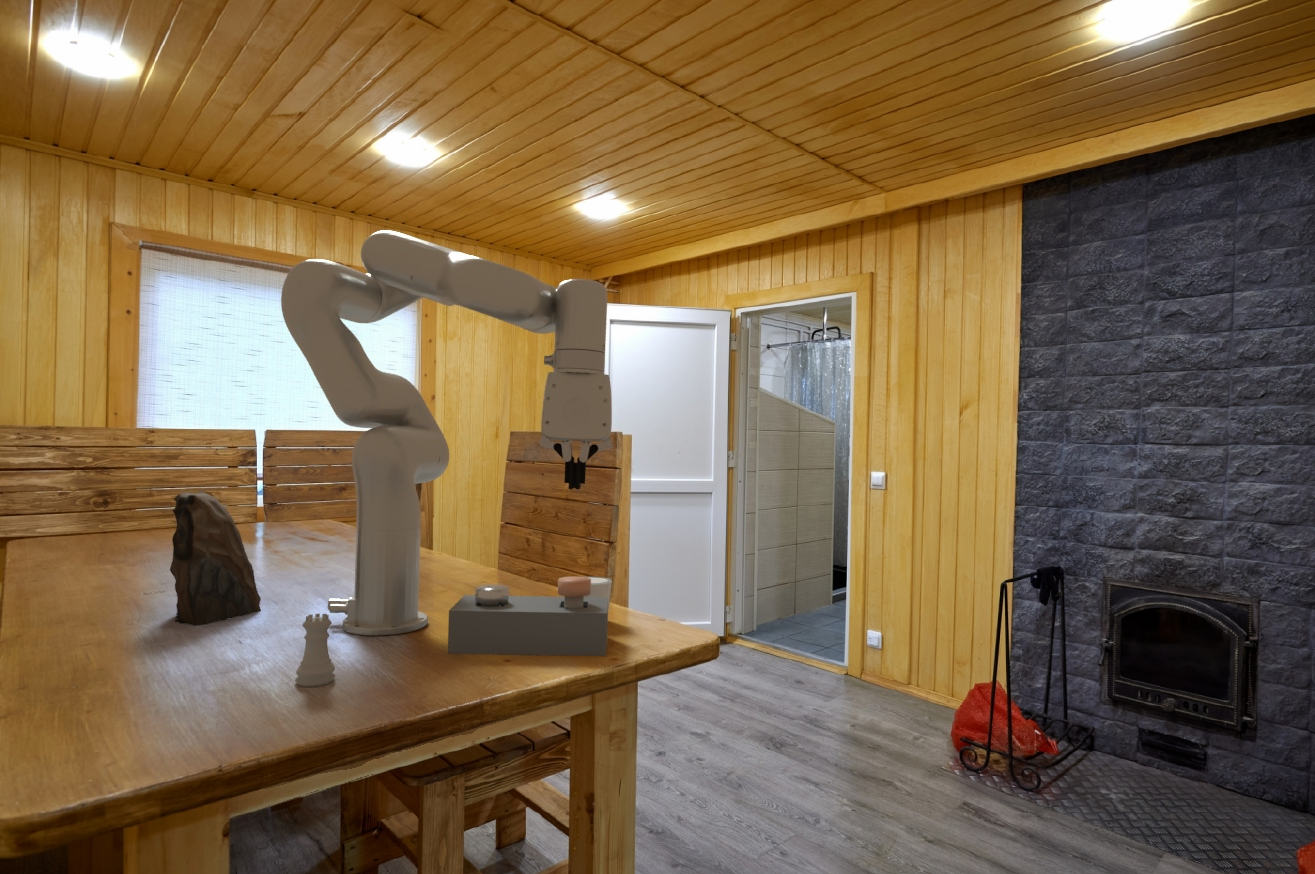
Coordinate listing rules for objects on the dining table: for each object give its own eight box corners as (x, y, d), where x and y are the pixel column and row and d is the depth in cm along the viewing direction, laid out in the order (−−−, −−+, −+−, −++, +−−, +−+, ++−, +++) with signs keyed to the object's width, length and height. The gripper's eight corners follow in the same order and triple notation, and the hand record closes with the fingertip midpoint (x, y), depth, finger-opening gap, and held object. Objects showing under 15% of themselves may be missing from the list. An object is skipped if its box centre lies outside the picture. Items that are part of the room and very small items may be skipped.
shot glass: (614, 617, 123) (615, 576, 123) (607, 627, 116) (608, 584, 116) (574, 615, 123) (575, 574, 123) (565, 625, 116) (566, 582, 116)
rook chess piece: (308, 690, 84) (310, 622, 84) (287, 682, 86) (289, 616, 86) (343, 680, 88) (345, 615, 88) (321, 673, 90) (323, 609, 90)
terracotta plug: (555, 634, 103) (556, 582, 103) (558, 625, 108) (559, 576, 108) (588, 635, 103) (590, 583, 103) (590, 626, 108) (591, 576, 108)
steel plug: (470, 643, 102) (472, 591, 102) (477, 634, 107) (478, 584, 107) (504, 644, 103) (506, 591, 103) (509, 634, 107) (511, 584, 107)
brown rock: (193, 628, 108) (197, 496, 108) (135, 619, 113) (140, 492, 113) (264, 610, 120) (268, 491, 120) (210, 602, 125) (214, 488, 125)
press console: (447, 653, 100) (448, 610, 100) (463, 634, 110) (464, 594, 110) (605, 655, 101) (607, 613, 101) (607, 636, 111) (608, 597, 111)
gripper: (525, 360, 102) (520, 488, 102) (629, 364, 103) (625, 492, 103) (532, 365, 109) (527, 485, 109) (629, 369, 110) (625, 488, 110)
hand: (574, 488), depth 106 cm, fingers closed
